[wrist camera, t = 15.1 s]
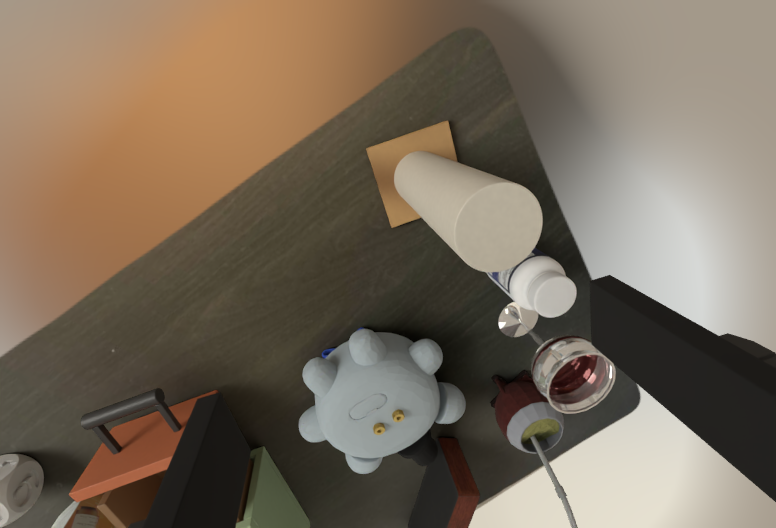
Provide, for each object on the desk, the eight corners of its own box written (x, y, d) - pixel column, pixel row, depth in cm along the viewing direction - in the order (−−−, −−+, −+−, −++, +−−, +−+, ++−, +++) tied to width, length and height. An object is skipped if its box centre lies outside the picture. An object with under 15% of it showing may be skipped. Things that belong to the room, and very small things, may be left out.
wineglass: (482, 338, 46) (534, 409, 35) (503, 287, 44) (565, 346, 33) (531, 347, 48) (595, 418, 37) (554, 298, 46) (629, 357, 35)
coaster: (365, 148, 36) (366, 148, 35) (446, 120, 36) (448, 120, 36) (390, 226, 39) (392, 228, 39) (465, 200, 39) (466, 201, 39)
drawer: (84, 392, 39) (31, 456, 32) (194, 353, 40) (166, 407, 32) (177, 507, 46) (151, 580, 39) (269, 473, 47) (260, 539, 40)
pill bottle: (537, 262, 43) (594, 301, 34) (497, 290, 44) (543, 336, 35) (515, 226, 41) (569, 257, 32) (474, 256, 42) (516, 295, 33)
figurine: (262, 366, 42) (360, 455, 52) (256, 430, 35) (372, 520, 44) (397, 280, 41) (471, 388, 51) (420, 327, 33) (502, 442, 43)
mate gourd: (510, 355, 48) (588, 454, 34) (549, 385, 50) (635, 487, 37) (468, 396, 49) (527, 507, 35) (508, 423, 52) (576, 536, 38)
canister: (387, 160, 36) (444, 201, 20) (437, 143, 36) (535, 168, 20) (402, 210, 38) (465, 285, 22) (449, 193, 38) (549, 255, 22)
